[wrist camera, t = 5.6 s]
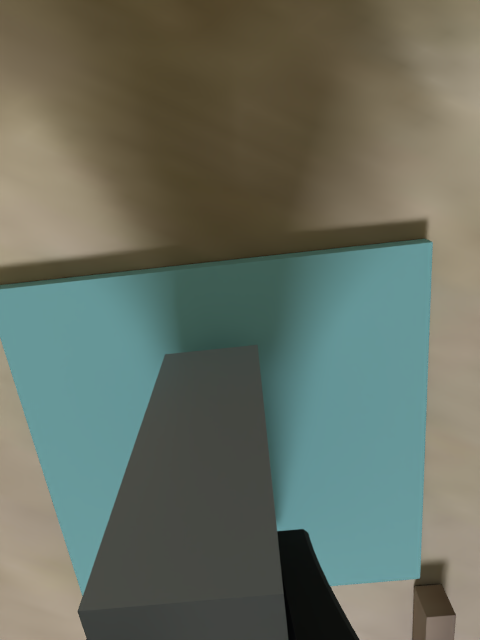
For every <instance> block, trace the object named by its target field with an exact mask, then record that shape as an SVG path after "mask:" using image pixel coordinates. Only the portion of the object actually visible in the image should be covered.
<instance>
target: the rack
mask: <svg viewBox="0 0 480 640" xmlns="http://www.w3.org/2000/svg"><path fill="white" fill-rule="evenodd" d="M455 620H456V614H455V612H454V610H453V608H452V606H451V604H450V601H449V599H448V597H447V595H446V593H445V591H444V589H443V586H442V584H438V585H426V586H414V611H413V640H454V633H455Z"/></svg>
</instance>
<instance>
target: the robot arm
mask: <svg viewBox="0 0 480 640" xmlns="http://www.w3.org/2000/svg"><path fill="white" fill-rule="evenodd" d="M277 535H278V545H279V554H280V564H281V574H282V583H283V592H284V602H285V611H286V621H287V630H288V640H359V638H358V636H357V635H356V633H355V631H354V629H353V628H352V626H351V624H350V622H349V621H348V619H347V617H346V615H345V613H344V611H343V610H342V608H341V606H340V604H339V602H338V600H337V599H336V597H335V595H334V593H333V591H332V589H331V587H330V585H329V583H328V581H327V579H326V576H325V574H324V572H323V570H322V568H321V566H320V563H319V561H318V559H317V556H316V554H315V551H314V549H313V546H312V543H311V540H310V537H309V533H308V532H307V531H305V530H304V529H296V530H285V531H277ZM86 640H87V639H86Z"/></svg>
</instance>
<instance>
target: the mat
mask: <svg viewBox="0 0 480 640" xmlns="http://www.w3.org/2000/svg"><path fill="white" fill-rule="evenodd" d="M432 244H433V242H431V241H429V240H427V239H417V240H408V241H399V242H390V243H381V244H372V245H363V246H353V247H344V248H335V249H326V250H317V251H308V252H299V253H289V254H280V255H271V256H262V257H253V258H244V259H235V260H225V261H216V262H207V263H198V264H189V265H180V266H171V267H161V268H152V269H143V270H134V271H125V272H116V273H107V274H97V275H88V276H79V277H70V278H61V279H52V280H43V281H33V282H24V283H15V284H6V285H0V338H1V341H2V345H3V348H4V351H5V354H6V357H7V360H8V363H9V367H10V370H11V373H12V376H13V379H14V382H15V385H16V388H17V392H18V395H19V398H20V401H21V404H22V407H23V410H24V414H25V417H26V420H27V423H28V426H29V429H30V432H31V436H32V439H33V442H34V445H35V448H36V451H37V454H38V458H39V461H40V464H41V467H42V470H43V473H44V476H45V480H46V483H47V486H48V489H49V492H50V495H51V498H52V502H53V505H54V508H55V511H56V514H57V517H58V520H59V524H60V527H61V530H62V533H63V536H64V539H65V542H66V546H67V549H68V552H69V555H70V558H71V561H72V564H73V568H74V571H75V574H76V577H77V580H78V583H79V586H80V589H81V593H82V596H83V594H84V591H85V588H86V585H87V582H88V579H89V577H90V574H91V571H92V568H93V565H94V562H95V559H96V556H97V553H98V550H99V547H100V544H101V541H102V538H103V535H104V532H105V529H106V526H107V524H108V521H109V518H110V515H111V512H112V509H113V506H114V503H115V500H116V497H117V494H118V491H119V488H120V485H121V482H122V479H123V476H124V474H125V471H126V468H127V465H128V462H129V459H130V456H131V453H132V450H133V447H134V444H135V441H136V438H137V435H138V432H139V429H140V426H141V424H142V421H143V418H144V415H145V412H146V409H147V406H148V403H149V400H150V397H151V394H152V391H153V388H154V385H155V382H156V379H157V376H158V374H159V371H160V368H161V365H162V362H163V359H164V356H165V354H173V353H182V352H192V351H202V350H211V349H221V348H231V347H241V346H250V345H258V354H259V363H260V373H261V382H262V392H263V401H264V411H265V420H266V430H267V439H268V449H269V458H270V468H271V477H272V487H273V496H274V506H275V515H276V525H277V531H285V530H296V529H304V530H305V531H307V532H308V533H309V537H310V540H311V543H312V546H313V549H314V551H315V554H316V556H317V559H318V561H319V563H320V566H321V568H322V570H323V572H324V574H325V576H326V579H327V581H328V583H329V585H330V586H338V585H349V584H361V583H373V582H385V581H397V580H409V579H420V565H421V539H422V512H423V485H424V458H425V431H426V405H427V378H428V351H429V324H430V298H431V271H432Z"/></svg>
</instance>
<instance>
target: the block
mask: <svg viewBox="0 0 480 640" xmlns="http://www.w3.org/2000/svg"><path fill="white" fill-rule="evenodd" d="M78 614H79V617H80V620H81V623H82V626H83V629H84V632H85V635H86V638H87V640H288V630H287V621H286V611H285V602H284V592H283V583H282V574H281V564H280V554H279V545H278V535H277V525H276V515H275V506H274V496H273V487H272V477H271V468H270V458H269V449H268V439H267V430H266V420H265V411H264V401H263V392H262V382H261V373H260V363H259V354H258V345H250V346H241V347H231V348H221V349H211V350H202V351H192V352H182V353H173V354H165V356H164V359H163V362H162V365H161V368H160V371H159V374H158V376H157V379H156V382H155V385H154V388H153V391H152V394H151V397H150V400H149V403H148V406H147V409H146V412H145V415H144V418H143V421H142V424H141V426H140V429H139V432H138V435H137V438H136V441H135V444H134V447H133V450H132V453H131V456H130V459H129V462H128V465H127V468H126V471H125V474H124V476H123V479H122V482H121V485H120V488H119V491H118V494H117V497H116V500H115V503H114V506H113V509H112V512H111V515H110V518H109V521H108V524H107V526H106V529H105V532H104V535H103V538H102V541H101V544H100V547H99V550H98V553H97V556H96V559H95V562H94V565H93V568H92V571H91V574H90V577H89V579H88V582H87V585H86V588H85V591H84V594H83V597H82V600H81V603H80V606H79V609H78Z"/></svg>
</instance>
